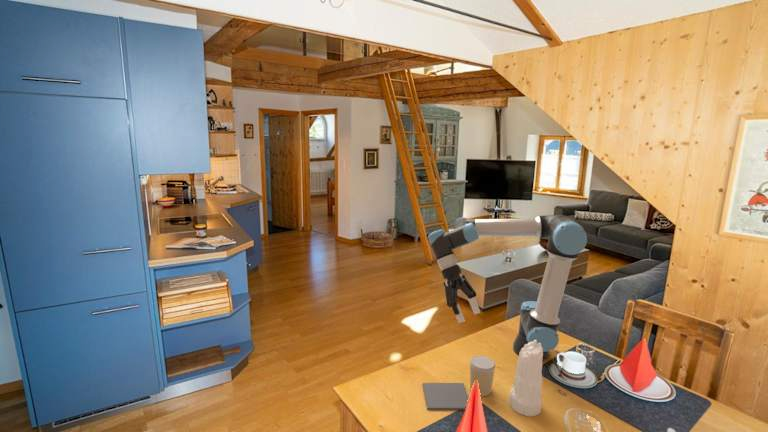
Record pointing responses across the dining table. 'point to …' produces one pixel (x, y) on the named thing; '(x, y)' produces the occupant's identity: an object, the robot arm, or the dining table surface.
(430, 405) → the charcoal mat
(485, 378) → the coffee cup
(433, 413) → the dining table surface
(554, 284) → the robot arm
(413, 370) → the dining table surface
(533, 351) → the decorative vase
